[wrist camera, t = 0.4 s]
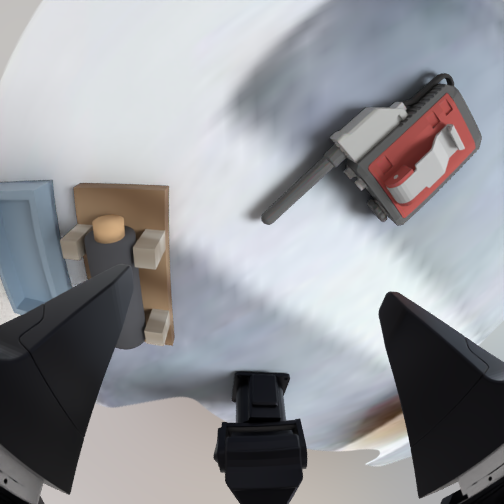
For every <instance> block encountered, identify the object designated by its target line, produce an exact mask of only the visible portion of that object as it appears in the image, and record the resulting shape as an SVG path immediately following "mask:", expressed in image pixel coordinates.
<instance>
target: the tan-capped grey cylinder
mask: <svg viewBox="0 0 504 504" xmlns="http://www.w3.org/2000/svg"><path fill="white" fill-rule="evenodd" d="M92 225H93V230H92V231H90V232H89V233H88V234H87V235H86V236H85V239H84V242H85V248H86V254H87V259H88V264H89V269H90V274H91V278H92V277H94V276H96V275H98V274H100V273H102V272H104V271H106V270H108V269H110V268H112V267H114V266H116V265H118V264H125V265H130V266H131V268H132V274H133V284H134V290H133V295H132V298H131V301H130V304H129V308H128V311H127V315H126V318H125V322H124V325H123V329H122V331H121V334H120V337H119V339H118V341H117V344H116V348H119V349H132V348H135V347H138V346H139V345H141V344H142V343H143V342H144V341H145V339H146V338H145V332H144V330H145V328H146V320H145V314H144V307H143V300H142V293H141V285H140V277H139V268H137V267H135V263H134V254H133V247H134V245H135V244H136V235H135V231H134V230H133V229H132V228H131V227H128V226H125V225H124V218H123V217H122V216H120V215H114V214H111V215H104V216H100V217H98V218H96V219H95V220H94V221H93V222H92Z"/></svg>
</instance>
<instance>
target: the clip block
mask: <svg viewBox="0 0 504 504" xmlns="http://www.w3.org/2000/svg"><path fill="white" fill-rule="evenodd" d="M74 199H75V208H76V216H77V223H78V224H77V225H76V226H75V227H74V228H73V229H72V230H70V231H69V232H68V233H67V234H66V235H65V236H64V237H63V238H62V239H61V240H60V244H61V248H62V253H63V258H64V259H71V260H79V261H80V259H81V258H82V257H83V259H84V264H85V269H86V273H87V278H88V280H89V279H90V278H91V274H90V269H89V264H88V259H87V254H86V248H85V242H84V239H85V236H86V235H87V234H88V233H89V232H90V231H92V230H93V225H92V222H93V221H94V220H95V219H96V218H98V217H100V216H104V215H111V214H114V215H120V216H122V217H123V218H124V225H125V226H128V227H131V228H132V229H133V230H134V231H135V235H136V244H135V245H134V247H133V254H134V263H135V267H137V268H139V277H140V285H141V293H142V300H143V307H144V314H145V320H146V328H145V330H144V332H145V338H146V339H145V342H146V343H147V344H153V345H159V346H164V344H165V345H172V346H173V341H174V326H173V313H172V299H171V281H170V258H169V186H159V185H137V184H103V183H80V184H78V185H77V186H75V187H74Z"/></svg>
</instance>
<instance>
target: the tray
mask: <svg viewBox="0 0 504 504" xmlns="http://www.w3.org/2000/svg"><path fill="white" fill-rule="evenodd" d="M60 240H61V238H60V232H59V227H58V221H57V214H56V207H55V200H54V191H53V182H52V180H38V181H15V182H0V277H1V280H2V283H3V286H4V288H5V291H6V294H7V296H8V299H9V301H10V304H11V306H12V308H13V311H14V313H17V314H20V315H23V314H25V313H26V312H28V311H30V310H32V309H34V308H36V307H38V306H39V305H41V304H45V302H47V301H49V300H51V299H52V298H54V297H56V296H58V295H60V294H62V293H64V292H65V291H67V290H69V289H71V288H72V286H71V282H70V278H69V274H68V270H67V266H66V262H65V259H64V258H63V253H62V248H61V244H60Z"/></svg>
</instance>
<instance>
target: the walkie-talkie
mask: <svg viewBox="0 0 504 504" xmlns="http://www.w3.org/2000/svg"><path fill="white" fill-rule="evenodd" d="M444 78H445V79H446V81H447V85H446V84H438V83H439V82H440V81H441V80H442V79H444ZM330 139H331V140H332V141H333V142H334V143H335V144H334V145H333V146H332V147H331V148H330V149H329V150H328V151H327V152H326V153H325V154H324V157H323V158H322V159H321V160H320V161H319V162H318V163H316V164H315V165H314V166H313V167H312V168H311V169H310V170H309V171H308V172H307V173H306V174H305V175H304V176H302V177H301V178H300V179H299V180H298V181H297V182H296V183H295V184H294V185H293V186H292V187H291V188H290V189H289V190H288V191H287V192H285V193H284V194H283V195H282V196H281V197H280V198H279V199H278V200H277V201H276V202H275V203H274V204H273V205H272V206H271V207H270V208H269V209H267V210H266V211H265V212H264V213H263V214H262V217H261V218H262V222H263V223H264V224H267V225H270V224H272V223H273V222H274V221H276V220H277V219H278V218H279V217H280V216H281V215H282V214H283V213H284V212H285V211H286V210H288V209H289V208H290V207H291V206H292V205H293V204H294V203H295V202H296V201H297V200H298V199H300V198H301V197H302V196H303V195H304V194H305V193H306V192H307V191H308V190H309V189H310V188H312V187H313V186H314V185H315V184H316V183H317V182H318V181H319V180H320V179H321V178H322V177H324V176H325V175H326V174H327V173H328V172H329V171H330V170H331V169H332V168H333V167H337V166H338V165H340V164H341V163H342V162H343V161H344V160H345V159H346V158H347V163H346V165H347V166H346V167H347V168H346V170H344V171H343V172H344V173H345V174H346V175H347V176H348V177H349V178H350V179H352V178H353V177H354V176H355V177H357V178H358V179H357V180H356V181H355V182H354V183H355V184H356V185H357V187H358V188H359V189H360V190H363V189H364V188H366V189H367V190H368V192H369V193H370V194H371V196H372V197H373V198H374V200H372V199H370V200H369V201H367V205H368V206H369V208H370V209H371V210H372V211H373V212H374V214H375V215H376V216H377V217H378V218H379V219H380V220H381V221H382V222H385V221H386V220H387V216H388V217H389V218H390V219H391V220H392V221H393V222H394V223H395V224H396V225H397V226H399V225H403V224H404V223H405V222H406V221H408V220H409V219H410V218H411V217H412V216H413V215H414V214H415V213H416V212H417V211H418V210H419V209H420V208H421V207H423V206H424V205H425V204H426V203H427V202H428V201H429V200H430V199H431V198H432V197H433V196H434V195H435V194H436V193H437V192H438V191H439V189H440V188H442V187H443V185H444V184H445V183H447V181H448V180H449V179H451V177H452V176H453V175H455V173H456V172H458V171H459V169H460V168H462V166H463V165H464V164H465V163H466V162H467V161H468V160H469V159H470V157H471V156H473V154H474V153H476V151H477V150H478V149H479V147H480V143H481V139H482V136H481V133H480V131H479V129H478V127H477V125H476V122H475V120H474V118H473V116H472V114H471V112H470V110H469V108H468V106H467V104H466V103H465V101H464V99H463V97H462V95H461V94H460V92H459V91H458V90H457V89H456V88H455V87H454V82H453V79H452V77H451V76H450V75H449V74H445V73H444V74H439V75H437V76H436V77H435V78H434V79H433V80H431V81H430V82H429V83H428V84H427V85H426V86H425V87H424V88H422V89H421V90H420V91H419V92H418V93H417V94H416V95H415V96H414V97H412V98H411V99H409V100H407V101H402V102H395V103H393V104H392V105H391V106H390V107H366V108H365V109H364V110H362V111H361V112H360V113H359V114H358V115H357V116H356V117H355V118H353V119H352V120H351V121H350V122H349V123H348V124H347V125H346V126H344V127H343V128H342V129H341V130H340V131H336V132H335V133H334V134H333V135H332V136H331V137H330ZM386 215H387V216H386Z"/></svg>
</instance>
